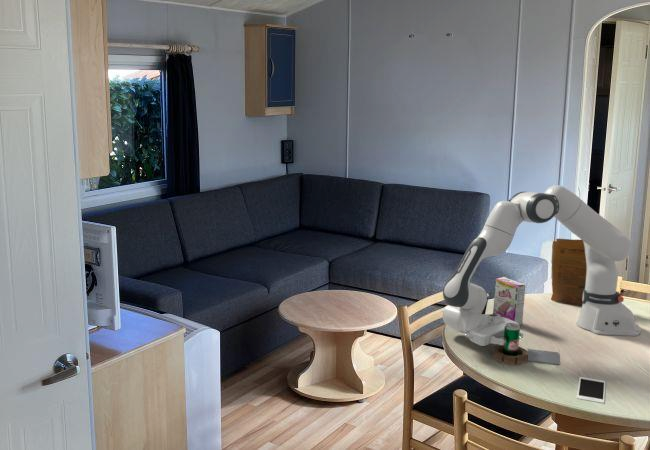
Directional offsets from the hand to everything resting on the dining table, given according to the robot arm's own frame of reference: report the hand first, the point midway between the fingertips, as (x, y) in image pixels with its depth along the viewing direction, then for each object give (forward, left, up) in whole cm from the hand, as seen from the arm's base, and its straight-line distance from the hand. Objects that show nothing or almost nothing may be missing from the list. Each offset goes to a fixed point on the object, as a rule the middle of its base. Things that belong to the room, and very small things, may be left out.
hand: (513, 339), depth 243 cm
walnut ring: (+1, 0, -7) cm, 7 cm away
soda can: (+1, 0, -7) cm, 7 cm away
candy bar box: (+3, -35, -7) cm, 36 cm away
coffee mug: (+15, -36, -7) cm, 40 cm away
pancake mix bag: (-22, -65, -7) cm, 69 cm away
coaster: (-10, -4, -7) cm, 13 cm away
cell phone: (-24, +17, -8) cm, 30 cm away
